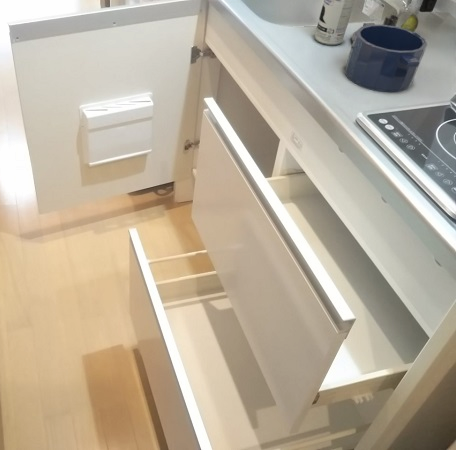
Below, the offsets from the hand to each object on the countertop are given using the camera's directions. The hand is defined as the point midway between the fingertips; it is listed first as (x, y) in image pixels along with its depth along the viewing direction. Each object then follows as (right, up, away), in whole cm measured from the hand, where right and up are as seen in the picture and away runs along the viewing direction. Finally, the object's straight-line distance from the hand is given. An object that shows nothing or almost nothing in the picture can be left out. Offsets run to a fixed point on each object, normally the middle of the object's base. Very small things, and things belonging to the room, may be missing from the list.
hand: (414, 3), depth 124 cm
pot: (-14, -21, -13) cm, 29 cm away
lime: (0, -6, +5) cm, 8 cm away
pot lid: (-8, -10, -1) cm, 13 cm away
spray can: (-21, -9, 0) cm, 22 cm away
